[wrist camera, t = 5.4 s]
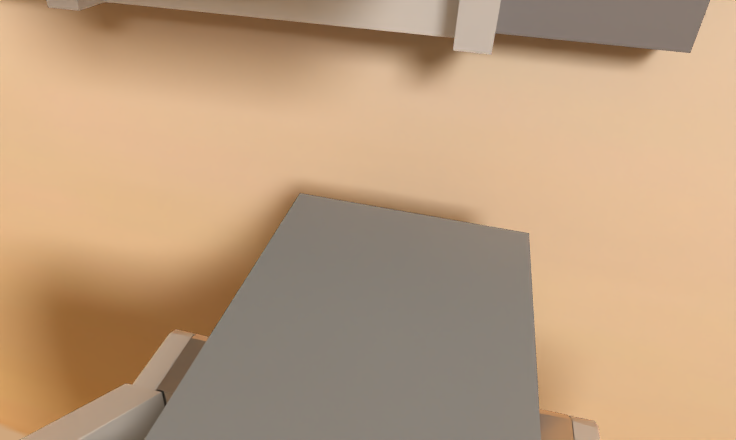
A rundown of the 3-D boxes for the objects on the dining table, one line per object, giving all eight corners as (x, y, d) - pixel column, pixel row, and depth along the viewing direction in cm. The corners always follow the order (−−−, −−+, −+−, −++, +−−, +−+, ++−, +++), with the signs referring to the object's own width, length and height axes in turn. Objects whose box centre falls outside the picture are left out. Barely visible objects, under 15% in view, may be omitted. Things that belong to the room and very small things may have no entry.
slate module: (528, 233, 14) (555, 681, 6) (496, 344, 16) (487, 772, 8) (299, 193, 14) (76, 546, 7) (299, 304, 17) (130, 662, 9)
